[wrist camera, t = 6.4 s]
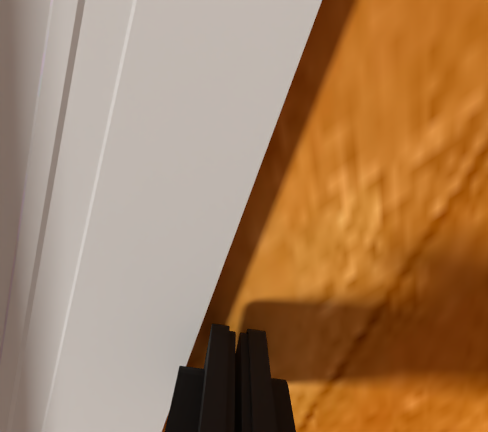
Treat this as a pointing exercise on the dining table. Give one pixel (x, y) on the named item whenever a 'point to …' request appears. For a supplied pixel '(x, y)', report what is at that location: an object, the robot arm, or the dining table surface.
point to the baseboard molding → (125, 191)
